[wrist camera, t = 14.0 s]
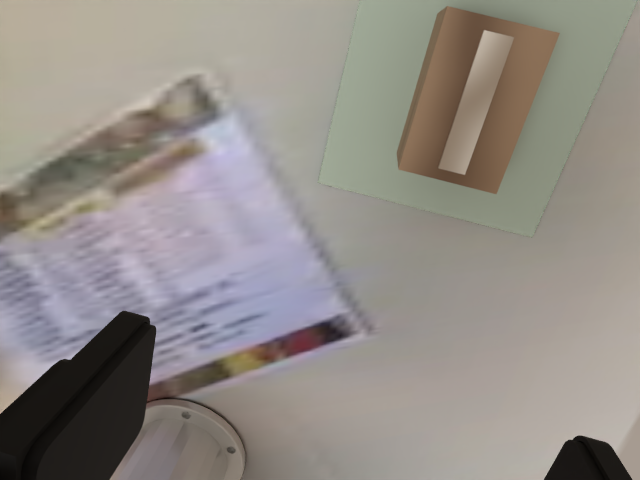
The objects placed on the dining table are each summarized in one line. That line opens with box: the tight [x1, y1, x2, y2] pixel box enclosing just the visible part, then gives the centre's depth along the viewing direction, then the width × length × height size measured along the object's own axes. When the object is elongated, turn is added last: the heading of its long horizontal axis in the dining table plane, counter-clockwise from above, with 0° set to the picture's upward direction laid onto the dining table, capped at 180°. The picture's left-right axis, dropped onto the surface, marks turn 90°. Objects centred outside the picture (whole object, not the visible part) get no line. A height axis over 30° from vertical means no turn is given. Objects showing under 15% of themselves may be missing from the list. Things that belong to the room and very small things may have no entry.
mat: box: [318, 0, 638, 238], centre depth 31 cm, size 16×16×1 cm
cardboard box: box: [397, 6, 560, 194], centre depth 28 cm, size 6×9×5 cm, turn 167°
